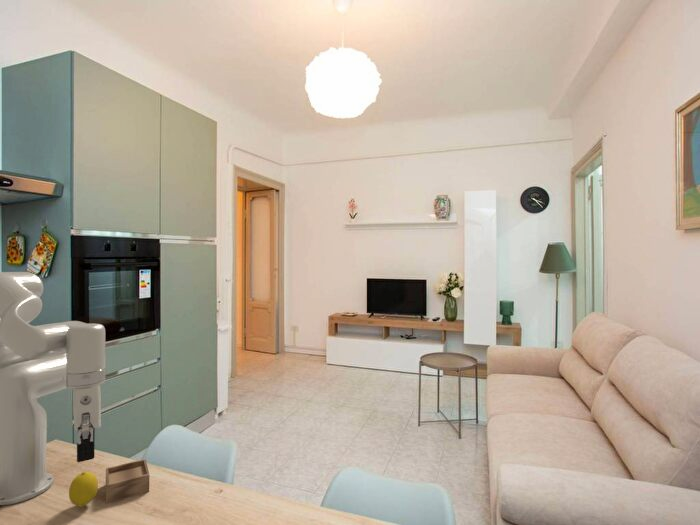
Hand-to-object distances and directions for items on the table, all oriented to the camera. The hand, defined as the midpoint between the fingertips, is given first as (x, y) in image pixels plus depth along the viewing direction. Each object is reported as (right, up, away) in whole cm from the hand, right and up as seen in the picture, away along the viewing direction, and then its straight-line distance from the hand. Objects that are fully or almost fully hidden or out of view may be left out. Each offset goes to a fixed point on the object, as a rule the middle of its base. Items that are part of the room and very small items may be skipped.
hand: (86, 451), depth 90 cm
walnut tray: (+5, -13, +8) cm, 16 cm away
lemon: (-1, -13, 0) cm, 13 cm away
